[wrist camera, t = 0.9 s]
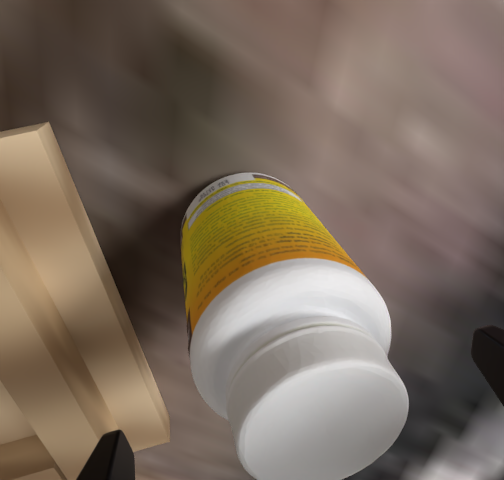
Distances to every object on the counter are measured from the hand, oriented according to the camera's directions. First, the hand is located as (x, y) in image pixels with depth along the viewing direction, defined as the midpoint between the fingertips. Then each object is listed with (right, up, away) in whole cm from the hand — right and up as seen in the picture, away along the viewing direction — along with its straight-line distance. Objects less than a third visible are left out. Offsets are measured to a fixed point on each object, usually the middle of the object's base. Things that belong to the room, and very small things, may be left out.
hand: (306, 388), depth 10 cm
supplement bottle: (-2, +4, +8) cm, 9 cm away
